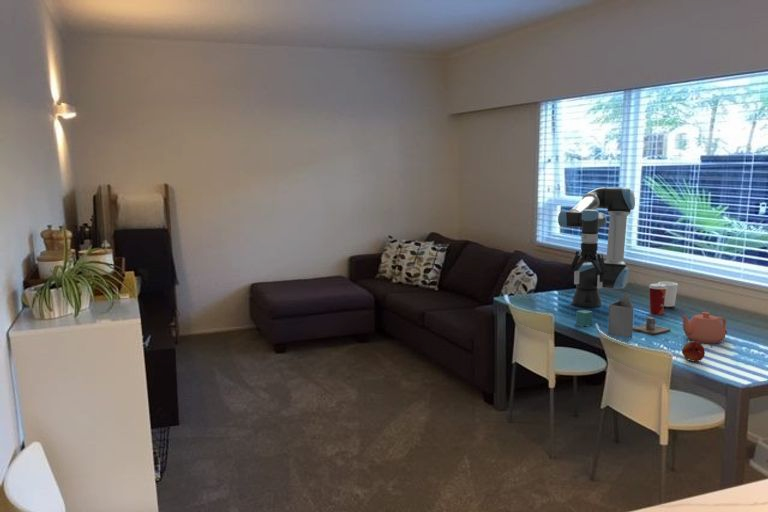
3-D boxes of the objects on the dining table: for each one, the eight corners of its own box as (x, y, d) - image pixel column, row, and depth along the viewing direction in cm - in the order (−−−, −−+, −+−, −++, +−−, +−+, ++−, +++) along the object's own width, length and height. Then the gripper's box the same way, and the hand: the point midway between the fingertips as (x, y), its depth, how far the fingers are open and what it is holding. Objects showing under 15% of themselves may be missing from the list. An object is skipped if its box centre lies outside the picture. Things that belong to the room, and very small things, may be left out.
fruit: (682, 363, 232) (683, 343, 231) (680, 357, 239) (681, 337, 238) (705, 365, 229) (706, 345, 228) (702, 358, 237) (703, 339, 235)
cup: (671, 309, 314) (673, 286, 312) (653, 306, 321) (654, 283, 319) (679, 306, 320) (681, 283, 318) (661, 303, 328) (662, 280, 326)
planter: (602, 328, 282) (603, 288, 280) (619, 328, 282) (621, 288, 279) (614, 338, 266) (616, 296, 263) (632, 338, 266) (634, 295, 263)
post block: (630, 329, 279) (631, 317, 278) (647, 325, 285) (647, 313, 284) (653, 335, 269) (654, 322, 268) (670, 331, 275) (670, 318, 274)
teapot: (689, 346, 252) (691, 318, 250) (668, 336, 267) (669, 309, 265) (738, 344, 254) (740, 315, 252) (714, 334, 269) (715, 307, 267)
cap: (576, 324, 290) (576, 311, 289) (583, 322, 292) (583, 309, 291) (584, 326, 285) (585, 313, 284) (592, 325, 288) (592, 311, 287)
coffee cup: (667, 315, 302) (668, 286, 300) (649, 315, 304) (651, 286, 302) (663, 311, 310) (664, 283, 308) (646, 311, 312) (647, 283, 310)
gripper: (563, 240, 291) (562, 283, 294) (606, 245, 270) (604, 291, 273) (573, 239, 295) (572, 281, 298) (616, 244, 274) (615, 289, 277)
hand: (587, 286), depth 286 cm, fingers open, 13 cm apart
